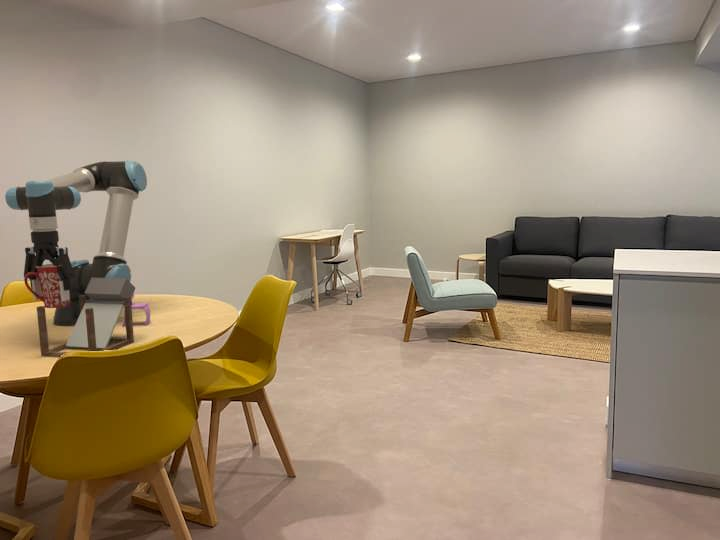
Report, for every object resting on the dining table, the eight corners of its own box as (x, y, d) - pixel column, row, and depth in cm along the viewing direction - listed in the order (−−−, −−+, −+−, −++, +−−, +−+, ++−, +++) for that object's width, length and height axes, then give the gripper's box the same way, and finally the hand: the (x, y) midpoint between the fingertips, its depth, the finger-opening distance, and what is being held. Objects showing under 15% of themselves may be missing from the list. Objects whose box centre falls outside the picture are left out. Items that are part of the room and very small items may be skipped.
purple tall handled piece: (146, 326, 198) (143, 286, 196) (121, 327, 197) (118, 286, 195) (151, 321, 206) (149, 282, 204) (127, 322, 205) (124, 283, 203)
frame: (40, 355, 163) (36, 307, 161) (85, 339, 181) (82, 295, 179) (94, 359, 159) (90, 309, 157) (134, 341, 178) (131, 296, 175)
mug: (74, 301, 181) (68, 261, 179) (73, 306, 173) (67, 264, 171) (30, 307, 176) (23, 266, 174) (28, 312, 168) (20, 269, 166)
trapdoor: (72, 350, 172) (60, 342, 167) (100, 286, 185) (90, 277, 180) (110, 352, 169) (99, 344, 164) (136, 288, 182) (127, 278, 177)
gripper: (4, 231, 169) (13, 301, 173) (65, 231, 164) (73, 303, 168) (24, 228, 176) (31, 296, 180) (83, 229, 172) (90, 298, 175)
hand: (51, 299), depth 174 cm, fingers closed on mug, 10 cm apart
